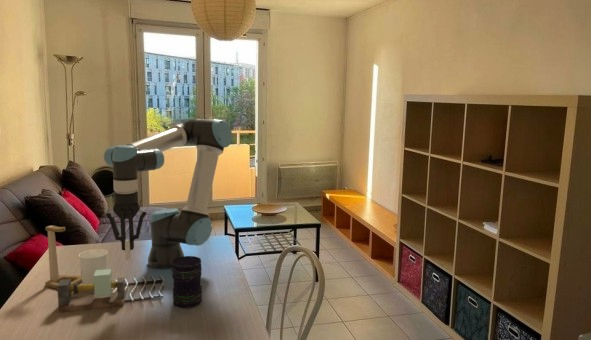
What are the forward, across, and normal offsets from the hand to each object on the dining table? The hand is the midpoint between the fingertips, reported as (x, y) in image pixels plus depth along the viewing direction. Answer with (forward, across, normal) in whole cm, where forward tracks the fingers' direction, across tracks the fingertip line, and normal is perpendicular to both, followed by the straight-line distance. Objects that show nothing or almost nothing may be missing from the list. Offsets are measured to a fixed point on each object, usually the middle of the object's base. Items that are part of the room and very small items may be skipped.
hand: (128, 258), depth 145 cm
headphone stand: (+15, +25, -20) cm, 35 cm away
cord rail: (+15, +12, 0) cm, 19 cm away
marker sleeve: (+12, +8, 0) cm, 14 cm away
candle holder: (+15, +14, -17) cm, 27 cm away
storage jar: (+15, -19, +7) cm, 25 cm away
